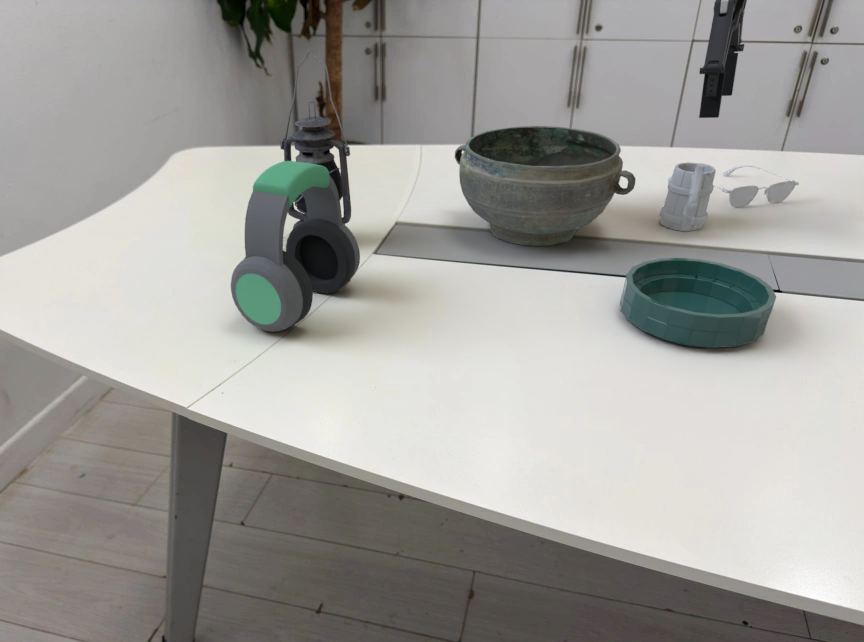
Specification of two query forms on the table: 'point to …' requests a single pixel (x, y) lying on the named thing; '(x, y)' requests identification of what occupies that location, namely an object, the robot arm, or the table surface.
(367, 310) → the table surface
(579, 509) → the table surface
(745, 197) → the eyeglasses
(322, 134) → the lantern
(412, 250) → the table surface
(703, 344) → the dish
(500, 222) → the bowl
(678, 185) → the mug
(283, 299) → the headphones
